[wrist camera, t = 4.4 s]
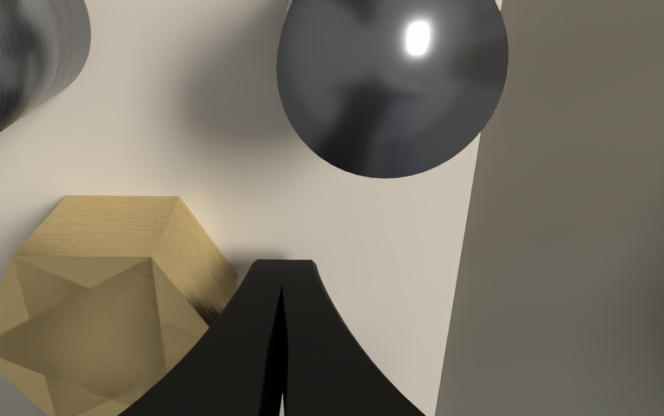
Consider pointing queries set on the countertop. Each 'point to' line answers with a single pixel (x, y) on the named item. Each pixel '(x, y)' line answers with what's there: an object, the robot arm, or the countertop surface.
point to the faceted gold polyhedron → (108, 301)
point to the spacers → (318, 74)
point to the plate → (241, 175)
